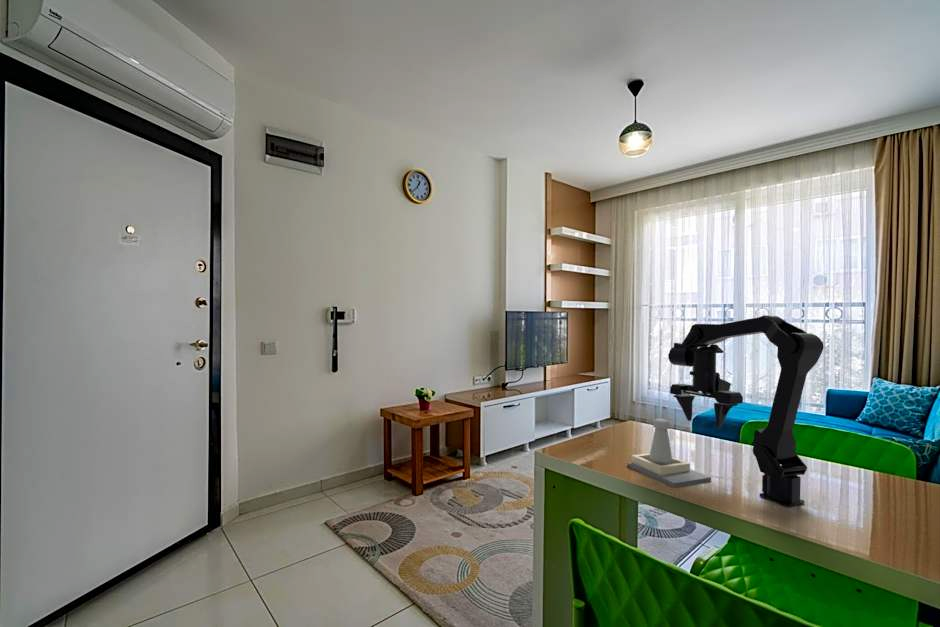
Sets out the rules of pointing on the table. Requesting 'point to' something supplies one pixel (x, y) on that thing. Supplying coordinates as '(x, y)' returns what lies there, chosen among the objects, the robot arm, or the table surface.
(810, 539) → the table surface
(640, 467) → the build board
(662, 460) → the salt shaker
